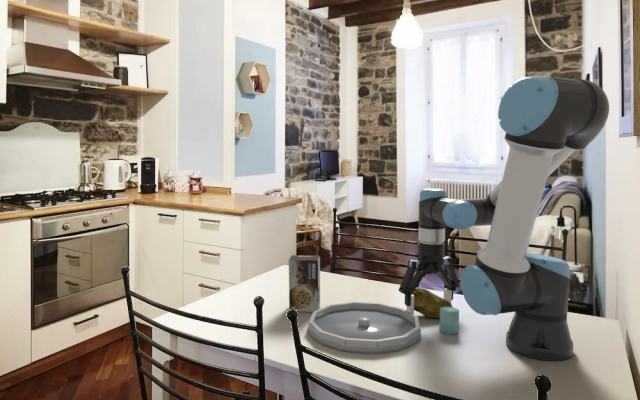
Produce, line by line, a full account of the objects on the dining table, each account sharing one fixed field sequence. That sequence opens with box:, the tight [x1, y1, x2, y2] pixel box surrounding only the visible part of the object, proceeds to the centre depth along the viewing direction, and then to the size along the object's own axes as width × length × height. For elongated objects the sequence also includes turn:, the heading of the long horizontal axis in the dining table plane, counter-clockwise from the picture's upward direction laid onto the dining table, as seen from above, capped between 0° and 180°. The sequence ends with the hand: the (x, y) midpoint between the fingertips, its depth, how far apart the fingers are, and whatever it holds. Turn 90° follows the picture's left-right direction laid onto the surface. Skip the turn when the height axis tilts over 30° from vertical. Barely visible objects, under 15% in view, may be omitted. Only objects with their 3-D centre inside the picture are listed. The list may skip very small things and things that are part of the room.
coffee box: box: [288, 254, 321, 313], centre depth 143 cm, size 9×6×16 cm
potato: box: [412, 287, 453, 319], centre depth 138 cm, size 8×13×8 cm, turn 61°
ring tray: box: [308, 301, 422, 355], centre depth 127 cm, size 30×30×3 cm
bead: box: [438, 306, 460, 336], centre depth 127 cm, size 5×5×6 cm
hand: (428, 313), depth 139 cm, fingers open, 12 cm apart
